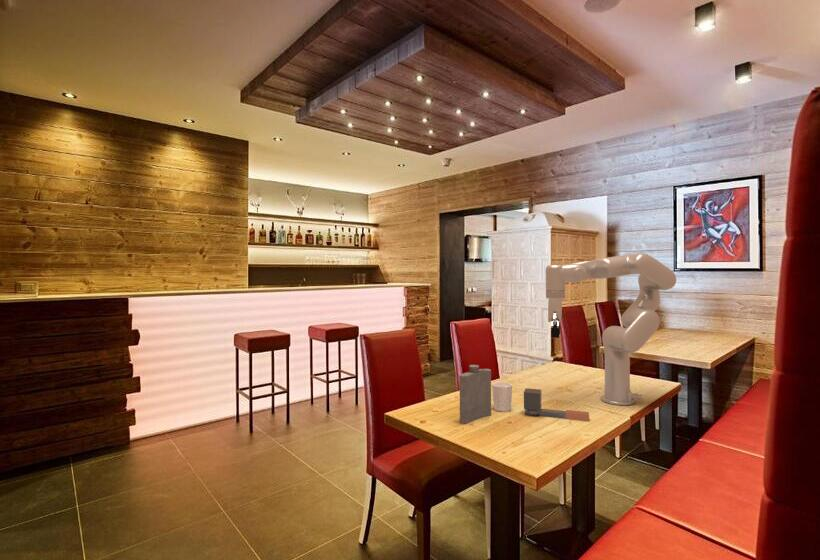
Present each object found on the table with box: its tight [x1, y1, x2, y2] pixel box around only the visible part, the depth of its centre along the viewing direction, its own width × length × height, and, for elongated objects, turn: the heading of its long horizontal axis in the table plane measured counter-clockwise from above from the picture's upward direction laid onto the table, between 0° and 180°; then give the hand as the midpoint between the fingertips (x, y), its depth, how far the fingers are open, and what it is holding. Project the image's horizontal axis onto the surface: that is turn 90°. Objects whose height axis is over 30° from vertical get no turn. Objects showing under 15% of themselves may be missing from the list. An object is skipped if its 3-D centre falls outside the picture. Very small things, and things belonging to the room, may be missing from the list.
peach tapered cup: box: [491, 381, 513, 412], centre depth 168 cm, size 8×8×10 cm
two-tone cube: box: [523, 387, 542, 411], centre depth 161 cm, size 6×6×6 cm
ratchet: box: [524, 408, 590, 422], centre depth 158 cm, size 23×6×6 cm, turn 69°
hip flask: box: [458, 364, 492, 425], centre depth 157 cm, size 16×4×20 cm, turn 129°
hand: (555, 335), depth 173 cm, fingers open, 9 cm apart
